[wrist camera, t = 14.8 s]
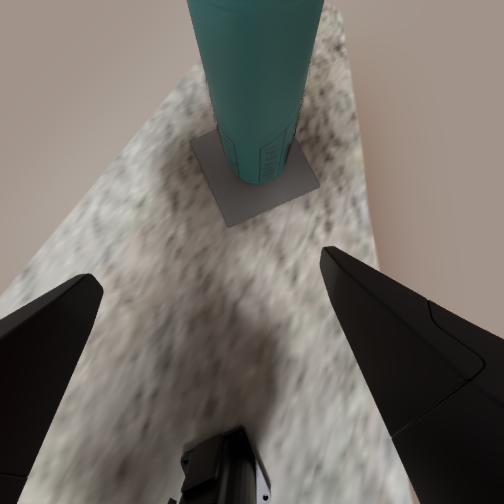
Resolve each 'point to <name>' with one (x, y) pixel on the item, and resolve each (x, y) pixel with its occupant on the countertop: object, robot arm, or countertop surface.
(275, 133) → the beverage bottle
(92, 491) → the countertop surface
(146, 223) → the countertop surface
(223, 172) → the mat
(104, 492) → the countertop surface
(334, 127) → the countertop surface
